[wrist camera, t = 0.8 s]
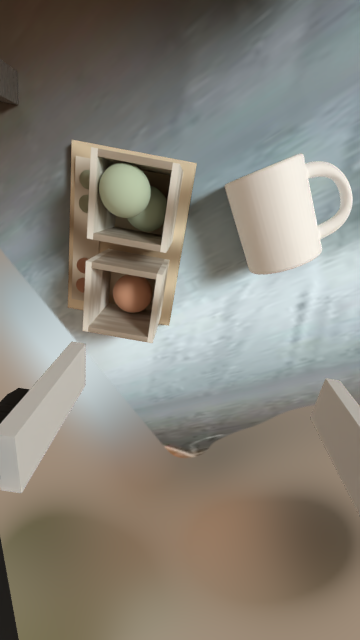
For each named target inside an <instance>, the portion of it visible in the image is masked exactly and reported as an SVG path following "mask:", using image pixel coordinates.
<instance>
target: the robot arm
mask: <svg viewBox="0 0 360 640" xmlns="http://www.w3.org/2000/svg"><path fill="white" fill-rule="evenodd" d="M85 355H86V344H84V343H77V342H71V343H70V344H69V345H68V347H67V348H66V349H65V350H64V351H63V352H62V353H61V354H60V356H59V357H58V358H57V359H56V360H55V361H54V363H53V364H52V365H51V366H50V367H49V368H48V369H47V371H46V372H45V373H44V374H43V375H42V376H41V378H40V379H39V380H38V381H37V382H36V383H35V384H34V386H33V387H32V388H31V389H30V390H29V389H22V388H18V389H16V390H15V391H13V392H11V393H9V394H7V396H5V398H4V399H3V400H2V401H1V402H0V487H1V490H3V491H10V492H17V493H22V492H23V490H24V488H25V486H26V485H27V483H28V481H29V480H30V478H31V476H32V475H33V473H34V471H35V470H36V468H37V466H38V464H39V463H40V461H41V459H42V458H43V456H44V454H45V453H46V451H47V449H48V448H49V446H50V444H51V443H52V441H53V439H54V438H55V436H56V434H57V433H58V431H59V429H60V427H61V425H62V424H63V422H64V421H65V419H66V417H67V416H68V414H69V412H70V411H71V409H72V407H73V406H74V404H75V402H76V401H77V399H78V397H79V395H80V394H81V392H82V390H83V388H84V387H85V360H86V359H85V357H86V356H85ZM310 419H311V421H312V423H313V425H314V427H315V429H316V431H317V433H318V435H319V437H320V439H321V441H322V443H323V445H324V447H325V449H326V451H327V453H328V455H329V457H330V458H331V460H332V462H333V465H334V467H335V468H336V470H337V472H338V474H339V476H340V478H341V480H342V482H343V484H344V486H345V488H346V490H347V492H348V494H349V496H350V498H351V500H352V502H353V504H354V506H355V508H356V510H357V512H358V514H359V516H360V406H359V405H358V404H357V402H356V401H355V400H354V398H353V397H352V396H351V395H350V393H349V392H348V391H347V389H346V388H345V387H344V386H343V384H342V383H341V382H340V380H333V379H325V381H324V384H323V386H322V389H321V391H320V394H319V396H318V399H317V401H316V404H315V406H314V409H313V411H312V414H311V417H310ZM0 640H19V639H18V633H17V628H16V622H15V617H14V611H13V606H12V600H11V594H10V589H9V583H8V578H7V572H6V566H5V561H4V556H3V550H2V544H1V539H0Z"/></svg>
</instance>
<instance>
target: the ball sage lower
mask: <svg viewBox="0 0 360 640" xmlns="http://www.w3.org/2000/svg"><path fill="white" fill-rule="evenodd" d="M150 189H151V196H150V200H149V203H148V205H147V207H146V209H145V210H144V211H143V212H142V213H140V214H139V215H137V216H135V217H131V218H127V219H128V221H129V222H130V223H131V225H132V226H134V227H135V228H136V229H138V230H141V231H145V232H150V231H154V230H156V229H158V228H160V227H161V226H162V225H163V224H164V221H165V214H166V207H167V200H166V198H165V196H164V194H163V193H162V192H161V191H160V190H159V189H157V188H155V187H153V186H150Z"/></svg>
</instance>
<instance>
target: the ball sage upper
mask: <svg viewBox="0 0 360 640" xmlns="http://www.w3.org/2000/svg"><path fill="white" fill-rule="evenodd" d="M99 193H100V197H101V200H102V202H103V204H104V206H105V207H106V208H107V209H108V210H109V211H110V212H111V213H112V214H114V215H116V216H118V217H122V218H131V217H135V216H137V215H139V214H140V213H142V212H143V211H144V210H145V209H146V207H147V205H148V203H149V200H150V196H151V189H150V184H149V181H148V179H147V177H146V175H145V174H144V173H143V171H142V170H141V169H139V168H138V167H137V166H135V165H133V164H130V163H124V162H122V163H116V164H113V165H111V166H110V167H109V168H107V169H106V170H105V172H104V173H103V175H102V177H101V179H100V183H99Z"/></svg>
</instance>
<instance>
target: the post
mask: <svg viewBox="0 0 360 640" xmlns="http://www.w3.org/2000/svg"><path fill="white" fill-rule="evenodd" d="M0 102H6V103H11V104H16V105H18V82H17V71H16V70H15V69H13V68H12V67H10V66H9V65H8V64H6V63H5V62H3V61H2V60H1V59H0Z"/></svg>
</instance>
